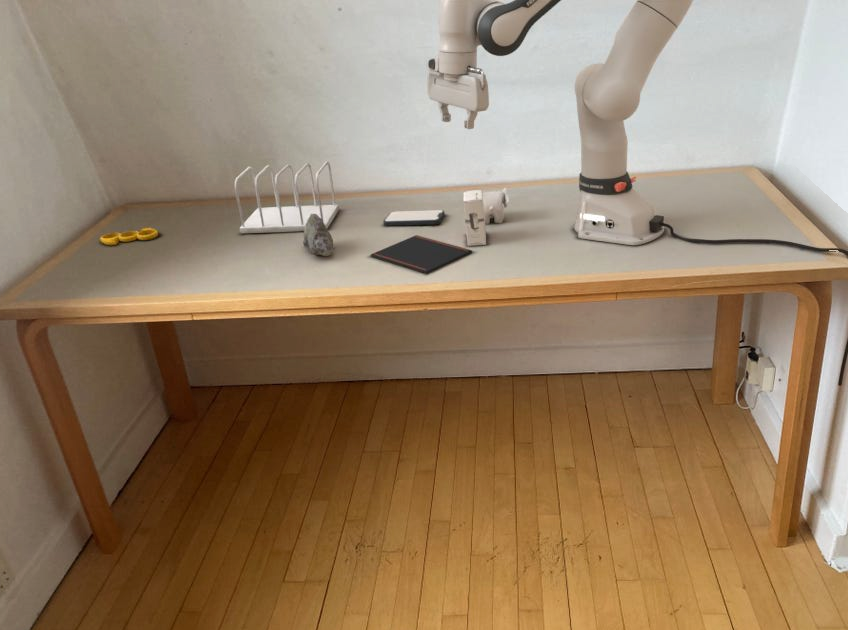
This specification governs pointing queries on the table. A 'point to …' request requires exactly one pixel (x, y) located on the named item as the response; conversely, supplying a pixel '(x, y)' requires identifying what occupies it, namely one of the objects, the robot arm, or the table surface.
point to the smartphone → (414, 218)
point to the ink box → (474, 218)
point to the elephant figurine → (494, 205)
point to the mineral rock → (317, 236)
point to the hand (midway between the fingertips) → (457, 124)
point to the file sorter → (289, 215)
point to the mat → (421, 254)
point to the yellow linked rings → (129, 236)
